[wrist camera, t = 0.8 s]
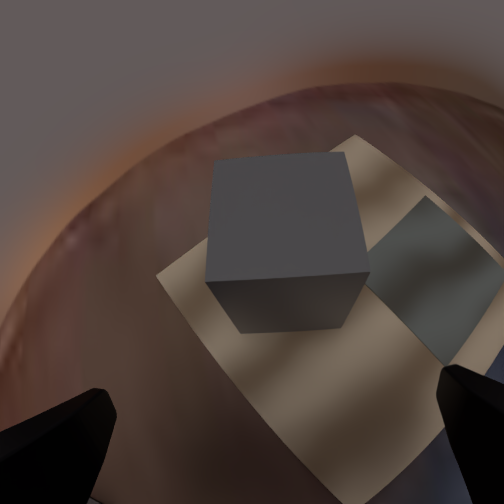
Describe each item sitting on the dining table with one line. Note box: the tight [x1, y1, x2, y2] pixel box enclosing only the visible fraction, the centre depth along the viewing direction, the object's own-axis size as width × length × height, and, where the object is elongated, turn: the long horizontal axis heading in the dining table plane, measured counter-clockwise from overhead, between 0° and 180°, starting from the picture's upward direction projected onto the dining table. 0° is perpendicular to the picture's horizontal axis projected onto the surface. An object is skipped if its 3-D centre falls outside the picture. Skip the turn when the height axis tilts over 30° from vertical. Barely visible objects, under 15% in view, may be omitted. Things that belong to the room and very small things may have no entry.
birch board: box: [156, 135, 504, 504], centre depth 21 cm, size 22×22×1 cm
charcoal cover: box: [205, 152, 371, 334], centre depth 18 cm, size 7×7×9 cm
